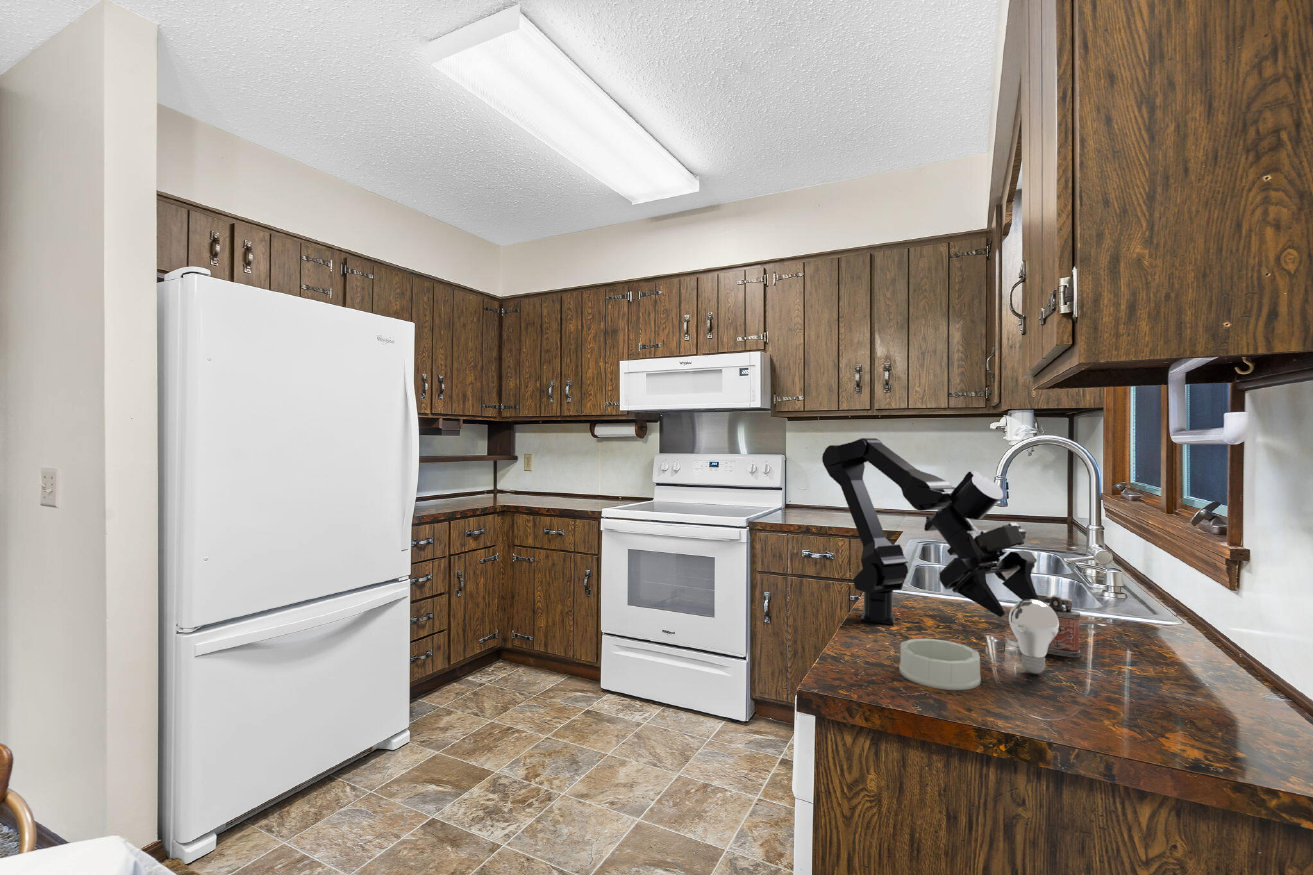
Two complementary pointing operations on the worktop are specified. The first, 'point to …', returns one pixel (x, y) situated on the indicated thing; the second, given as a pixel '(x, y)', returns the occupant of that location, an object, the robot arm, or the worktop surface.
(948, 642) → the bulb holder
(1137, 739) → the worktop surface
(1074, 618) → the lighter
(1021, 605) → the light bulb
